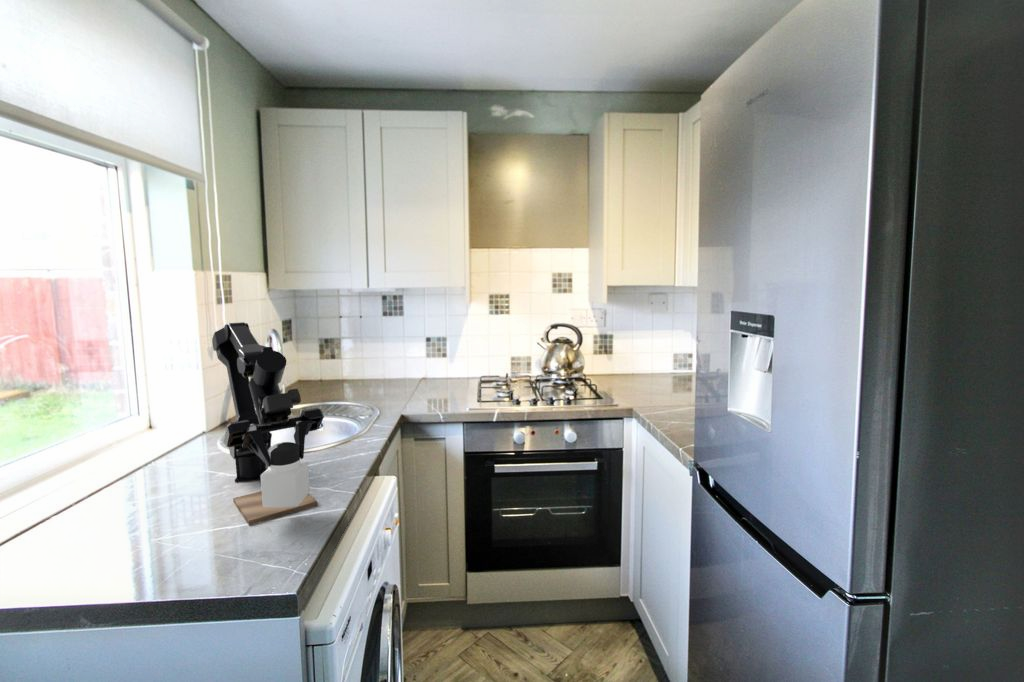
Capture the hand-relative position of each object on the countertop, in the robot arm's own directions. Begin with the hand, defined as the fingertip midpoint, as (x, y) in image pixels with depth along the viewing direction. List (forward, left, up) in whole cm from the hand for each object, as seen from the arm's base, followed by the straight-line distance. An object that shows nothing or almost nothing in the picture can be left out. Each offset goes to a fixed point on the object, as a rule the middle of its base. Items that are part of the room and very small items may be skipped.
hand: (286, 461), depth 107 cm
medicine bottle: (-1, +1, -9) cm, 9 cm away
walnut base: (-5, +10, -13) cm, 17 cm away
